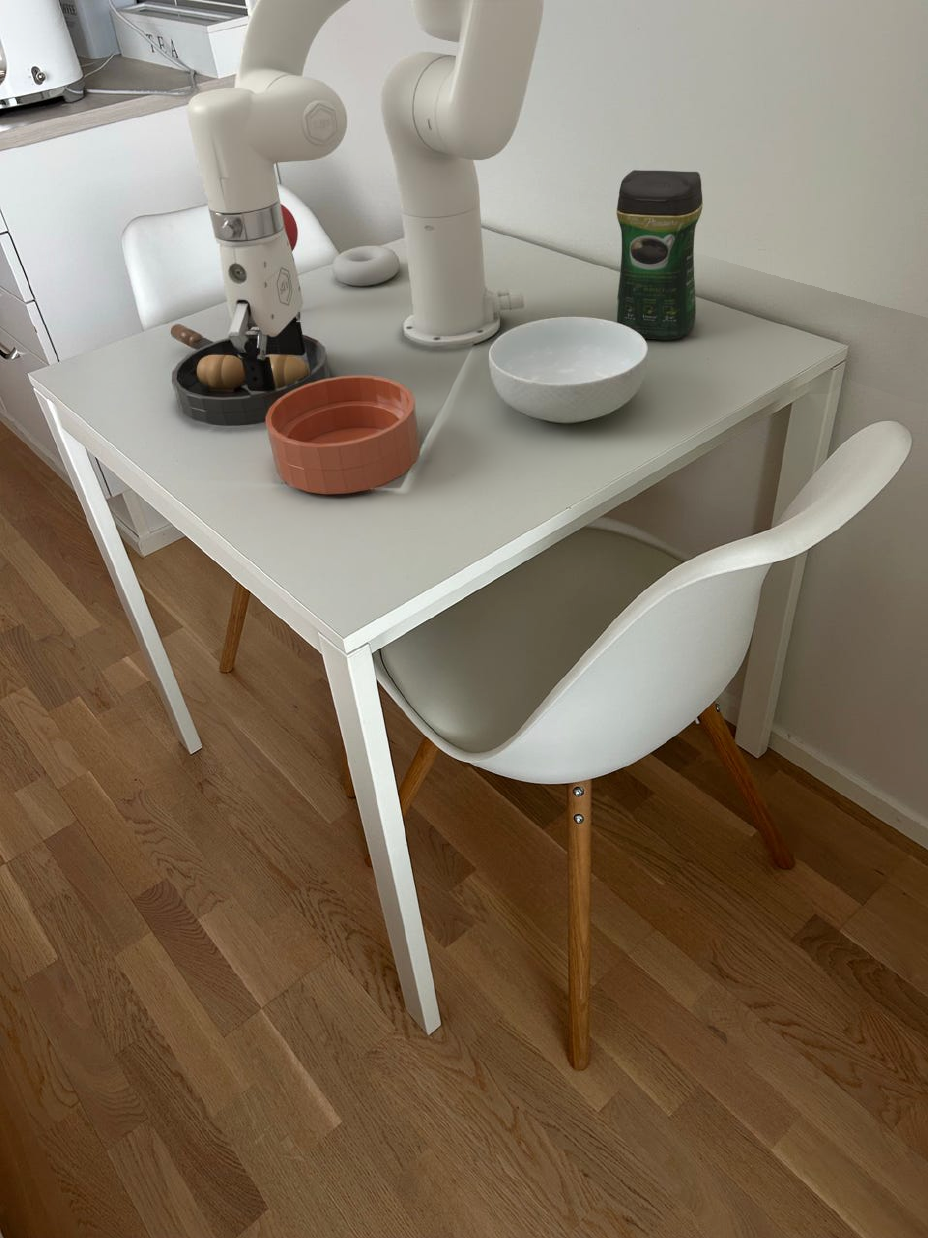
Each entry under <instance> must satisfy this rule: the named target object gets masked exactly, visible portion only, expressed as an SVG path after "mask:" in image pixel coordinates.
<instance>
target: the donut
mask: <svg viewBox="0 0 928 1238" xmlns="http://www.w3.org/2000/svg"><path fill="white" fill-rule="evenodd" d="M400 262H401V261H400V258H399V256H398V255H397V253H396V252H395V251H394V250H393V249H391V248H389V247H386V246H381V245H363V246H356V247H353V248H349V249H347V250H344V251H343V252H341V253H340V254H338V255H337V256H336V257H335V258H334V261H333V263H332V267H331V270H332V274H333V275H334V277H335V279H336V280H337V281H339V282H340V283H342V284H344V285H347V286H348V285H349V286H352V287H367V286H374V285H378V284H382V283H384V282H386V281H389V280H390V279H392V278H393V277H394V276H395V275H396V274H397V273H398V271H399V268H400V265H401V263H400Z"/></svg>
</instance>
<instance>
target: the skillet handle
mask: <svg viewBox="0 0 928 1238" xmlns="http://www.w3.org/2000/svg"><path fill="white" fill-rule="evenodd" d="M170 334H171V336H172V338H173V339H174V340H176V341H178V342H180V343H182V344H183V345H186V346H188V347H189V348H192V349H193V350H198V349H200V348H201V347H204V346H206V345H209V344H211V343H214V342H215V341H212V340H210V339H209V338H207V337H204V336H203V335H202V334H201V333H199V332H197V331H195V330H193V329H191V328H189V327H187V326H185V325H183V324H180V323H176V324H174V325H172V326H171V328H170Z"/></svg>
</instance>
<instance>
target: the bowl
mask: <svg viewBox="0 0 928 1238" xmlns="http://www.w3.org/2000/svg"><path fill="white" fill-rule="evenodd" d="M416 408H417V407H416V400H415V398H414V395H413V392H412V391H411V390H410V389H409V388H408V387H406V386H405V385H404V384H402V383H400V382H397V381H396V380H393V379H391V378H385V377H383V376H376V375H363V374H360V375H359V374H358V375H357V374H355V375H342V376H340V375H339V376H334V377H331V378H328V379H324V380H319V381H316V382H312V383H309V384H306V385H303V386H301V387H299V388H296V389H294V390H292V391H290V392H288V393H287V394H285V395H284V396H282V397H281V398H279V399H278V400H277V401H276V402H275V403H274V404H273V405H272V406H271V407H270V408H269V410H268V413H267V415H266V418H265V419H266V422H265V426H266V431H267V435H268V439H269V444H270V447H271V452H272V456H273V461H274V465H275V470H276V473H277V474H278V475H279V477H280V478H281V480H282V481H283V482H284V483H286V484H287V485H289V486H291V487H292V488H295V489H297V490H301V491H305V492H307V493H310V494H311V493H313V494H321V495H341V494H342V495H343V494H344V495H345V494H352V493H358V492H364V491H367V490H371V489H374V488H377V487H381V486H383V485H386V484H388V483H389V482H392V481H394V480H396V479H398V478H399V477H402V476H403V475H404V474H405V473H406V472H407V471H409V470H410V469H411V468H412V467H413V466H414V464H415V463H416V461H417V460H418V458H419V457H420V452H421V440H420V431H419V430H420V429H419V424H418V423H419V422H418V415H417V414H418V413H417V409H416Z"/></svg>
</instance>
